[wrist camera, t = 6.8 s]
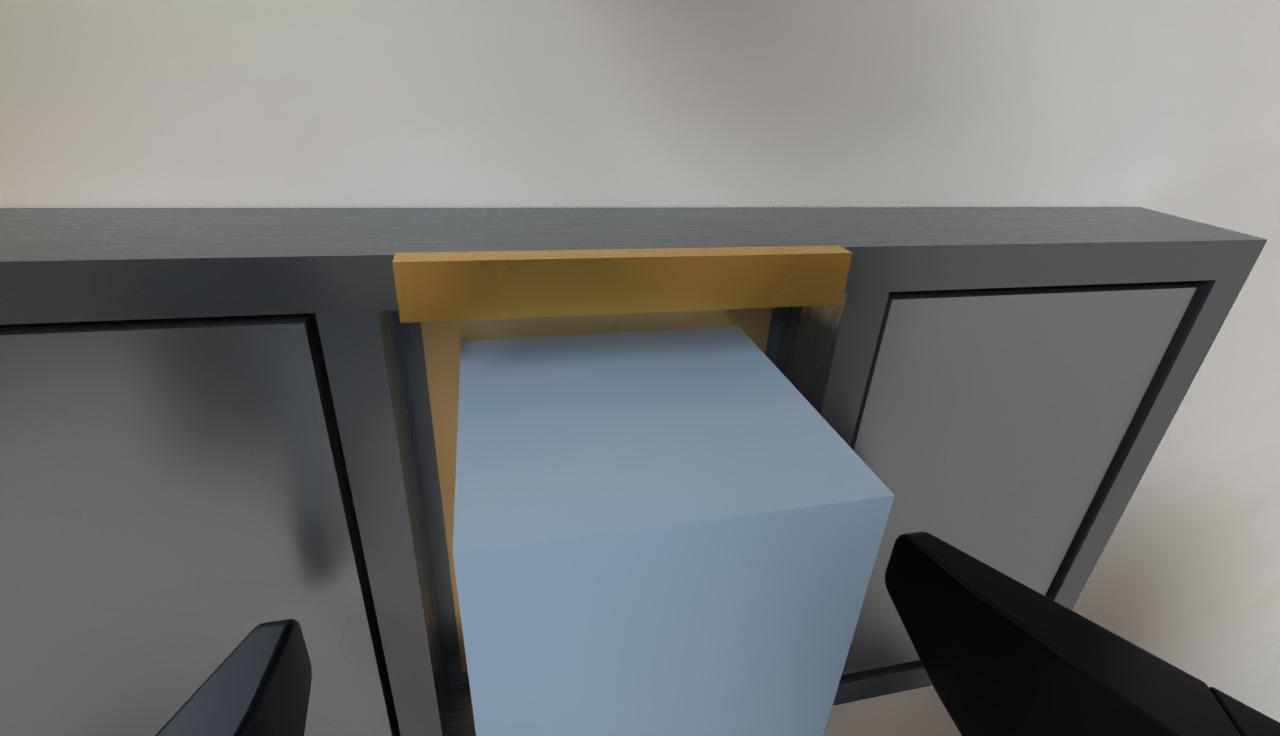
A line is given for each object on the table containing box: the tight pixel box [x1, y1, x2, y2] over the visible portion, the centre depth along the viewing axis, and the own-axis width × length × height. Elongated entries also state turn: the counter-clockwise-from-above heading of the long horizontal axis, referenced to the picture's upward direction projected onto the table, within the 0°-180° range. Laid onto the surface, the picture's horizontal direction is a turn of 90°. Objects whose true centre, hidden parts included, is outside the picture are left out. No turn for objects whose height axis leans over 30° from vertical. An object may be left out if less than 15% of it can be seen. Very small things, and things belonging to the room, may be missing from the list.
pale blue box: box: [453, 326, 895, 736], centre depth 8 cm, size 4×6×4 cm, turn 178°
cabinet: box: [0, 207, 1267, 736], centre depth 10 cm, size 19×9×2 cm, turn 87°
